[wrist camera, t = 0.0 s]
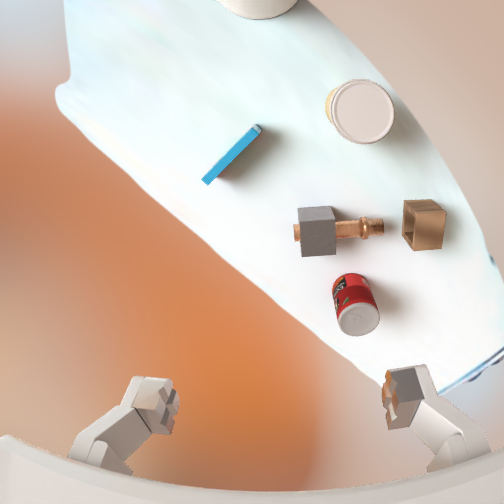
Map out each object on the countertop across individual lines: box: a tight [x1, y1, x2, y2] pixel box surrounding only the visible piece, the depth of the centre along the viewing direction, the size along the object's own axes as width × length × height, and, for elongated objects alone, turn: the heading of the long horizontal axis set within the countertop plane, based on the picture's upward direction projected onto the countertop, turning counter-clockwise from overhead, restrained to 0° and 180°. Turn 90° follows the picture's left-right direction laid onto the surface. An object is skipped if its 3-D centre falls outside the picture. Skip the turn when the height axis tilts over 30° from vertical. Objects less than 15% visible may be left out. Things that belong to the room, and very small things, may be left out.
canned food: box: [332, 273, 380, 336], centre depth 60 cm, size 8×8×11 cm
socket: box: [402, 199, 446, 251], centre depth 53 cm, size 7×6×7 cm
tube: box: [294, 217, 384, 241], centre depth 56 cm, size 4×16×4 cm, turn 97°
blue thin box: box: [201, 124, 261, 185], centre depth 51 cm, size 12×2×6 cm, turn 136°
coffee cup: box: [325, 79, 395, 144], centre depth 43 cm, size 9×9×12 cm
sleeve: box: [298, 206, 336, 257], centre depth 56 cm, size 7×6×6 cm
